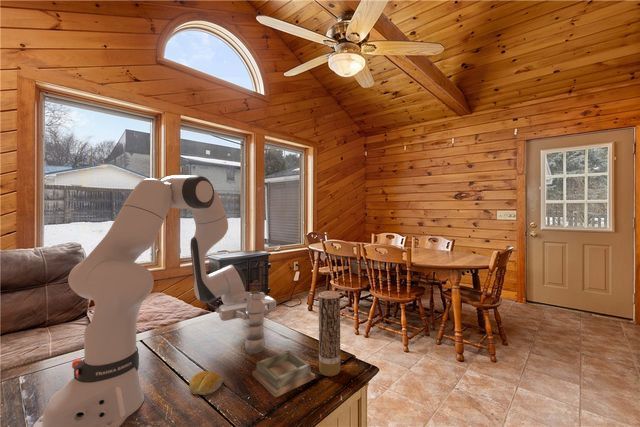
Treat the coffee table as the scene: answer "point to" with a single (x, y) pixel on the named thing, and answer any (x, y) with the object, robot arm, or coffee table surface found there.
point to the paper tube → (329, 333)
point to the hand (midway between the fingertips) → (256, 314)
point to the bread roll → (205, 383)
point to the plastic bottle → (255, 324)
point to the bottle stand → (283, 373)
